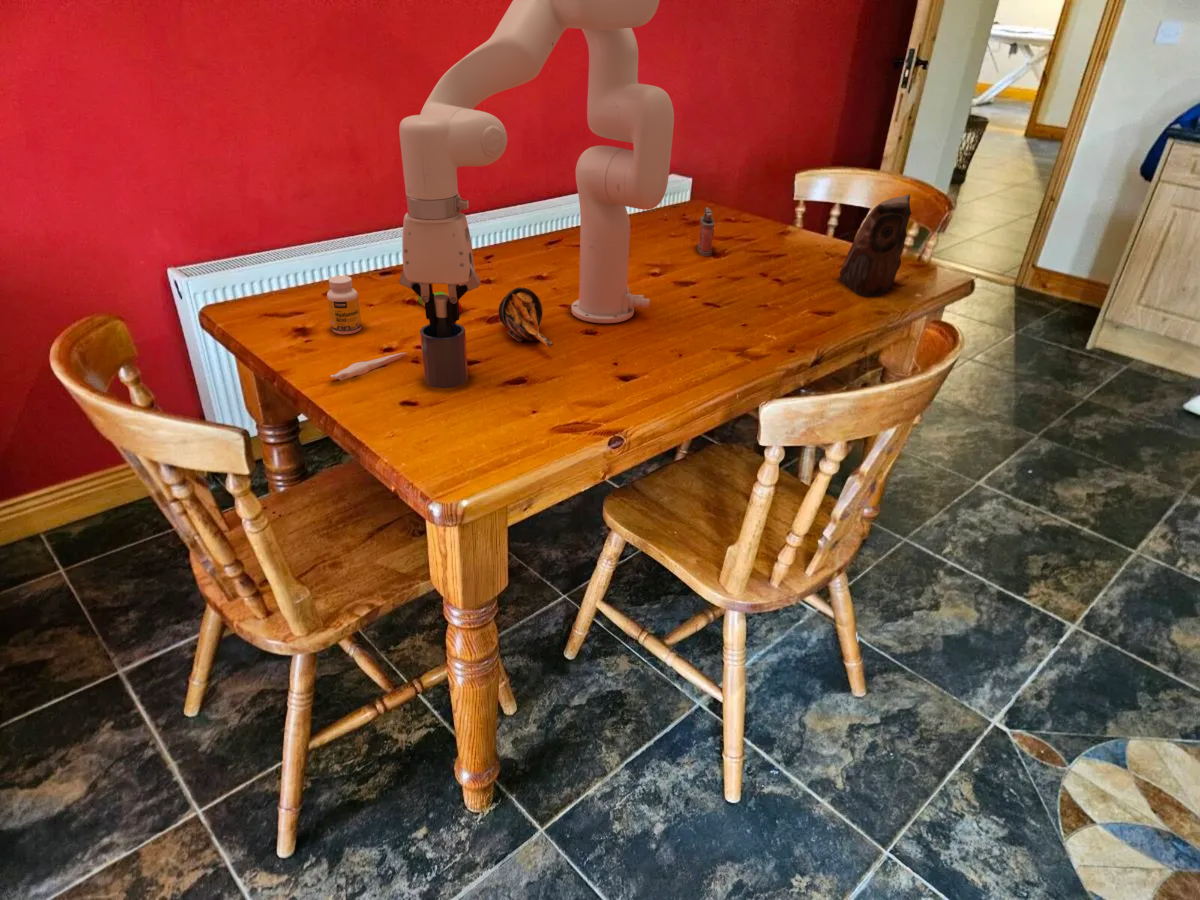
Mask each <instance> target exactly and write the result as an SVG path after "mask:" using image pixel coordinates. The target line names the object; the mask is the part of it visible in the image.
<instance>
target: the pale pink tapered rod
mask: <svg viewBox="0 0 1200 900" xmlns="http://www.w3.org/2000/svg"><path fill="white" fill-rule="evenodd" d="M407 354H408V352H399V353H394V354H390V355H386V356H382V357H379V358H374V359H371V360H366V361H357V362H353V363H352V364H350V365H349V366H347V367H346V368H343V369H341V370H339V371H338V372H336V373H335V374H330V378H331V379H337V380H340V381H343V380H346V379H351V378H353V377H355V376H357V377H359V376H363V375H365V374H367V373H368V372H370V371H373V370H375V369H378V368H381V367H383V366H385V365H387V364H389V363H392V362H394V361H398V360H399V359H401V358H402V357H405V355H407Z"/></svg>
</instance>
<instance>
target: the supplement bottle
mask: <svg viewBox="0 0 1200 900" xmlns="http://www.w3.org/2000/svg"><path fill="white" fill-rule="evenodd" d="M328 283H329V284H328V285H329V290H328V291H327V294H326V298H327V299H326V300H327V304H328V312H329V313H328V314H329V319H330V325H331V326H330V327H331V330H332V332H333V333H335V334H338V335H351V334H355V333H358V332H360V331H361V330H362V318H361V309H360V301H359V293H358V291H357V290H356V289H355V288H353V279H352V277H350V276H349V275H335V276H332V277H329V279H328Z"/></svg>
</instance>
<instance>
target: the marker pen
mask: <svg viewBox="0 0 1200 900" xmlns="http://www.w3.org/2000/svg"><path fill="white" fill-rule="evenodd" d="M448 295H449V294H447V295H443V294H441V295H436V296H434V305H435V315H436V323H437V334H438V338H446V337H452V334H451V327H449V326H448V317H447V303H448V299H449V296H448Z"/></svg>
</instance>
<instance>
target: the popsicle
mask: <svg viewBox="0 0 1200 900" xmlns="http://www.w3.org/2000/svg"><path fill="white" fill-rule="evenodd" d="M433 294H434V296H436V295H441V294H443V295H448V296H449V294H447V293H445V292H444V291H443V290H442V291H437V292H433ZM417 301H418V304H419V305H420V306H423V308H425V302H423V301H422V299H421V297H420V296H419V295H418V296H417ZM462 311H463V307H462V304H461V302H459V313H460V314H461V313H462Z"/></svg>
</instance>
